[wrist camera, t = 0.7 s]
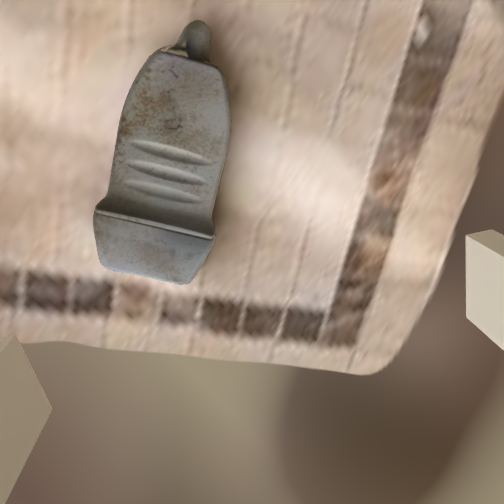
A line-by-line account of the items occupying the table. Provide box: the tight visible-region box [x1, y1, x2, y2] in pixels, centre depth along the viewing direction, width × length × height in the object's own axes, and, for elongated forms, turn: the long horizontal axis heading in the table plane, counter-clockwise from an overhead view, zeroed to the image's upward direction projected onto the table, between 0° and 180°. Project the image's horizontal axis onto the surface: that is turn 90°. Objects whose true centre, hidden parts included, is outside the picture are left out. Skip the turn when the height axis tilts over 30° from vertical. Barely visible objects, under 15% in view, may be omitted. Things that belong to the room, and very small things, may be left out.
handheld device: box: [93, 20, 231, 284], centre depth 33 cm, size 10×20×5 cm, turn 165°
